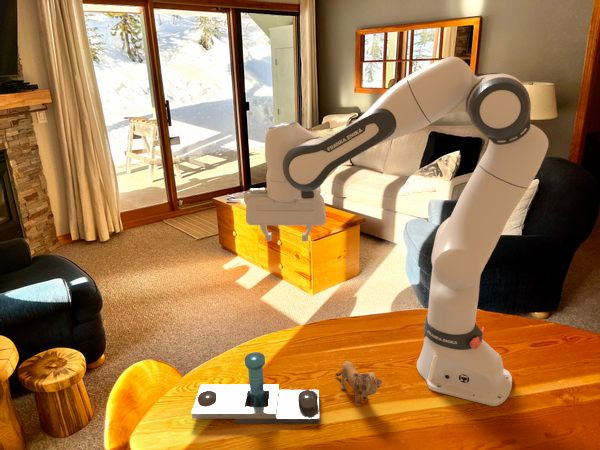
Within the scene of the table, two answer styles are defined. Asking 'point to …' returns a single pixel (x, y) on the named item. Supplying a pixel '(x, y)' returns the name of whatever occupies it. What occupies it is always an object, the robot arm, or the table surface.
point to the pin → (256, 378)
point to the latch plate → (279, 411)
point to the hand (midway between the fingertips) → (286, 240)
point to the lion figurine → (359, 381)
